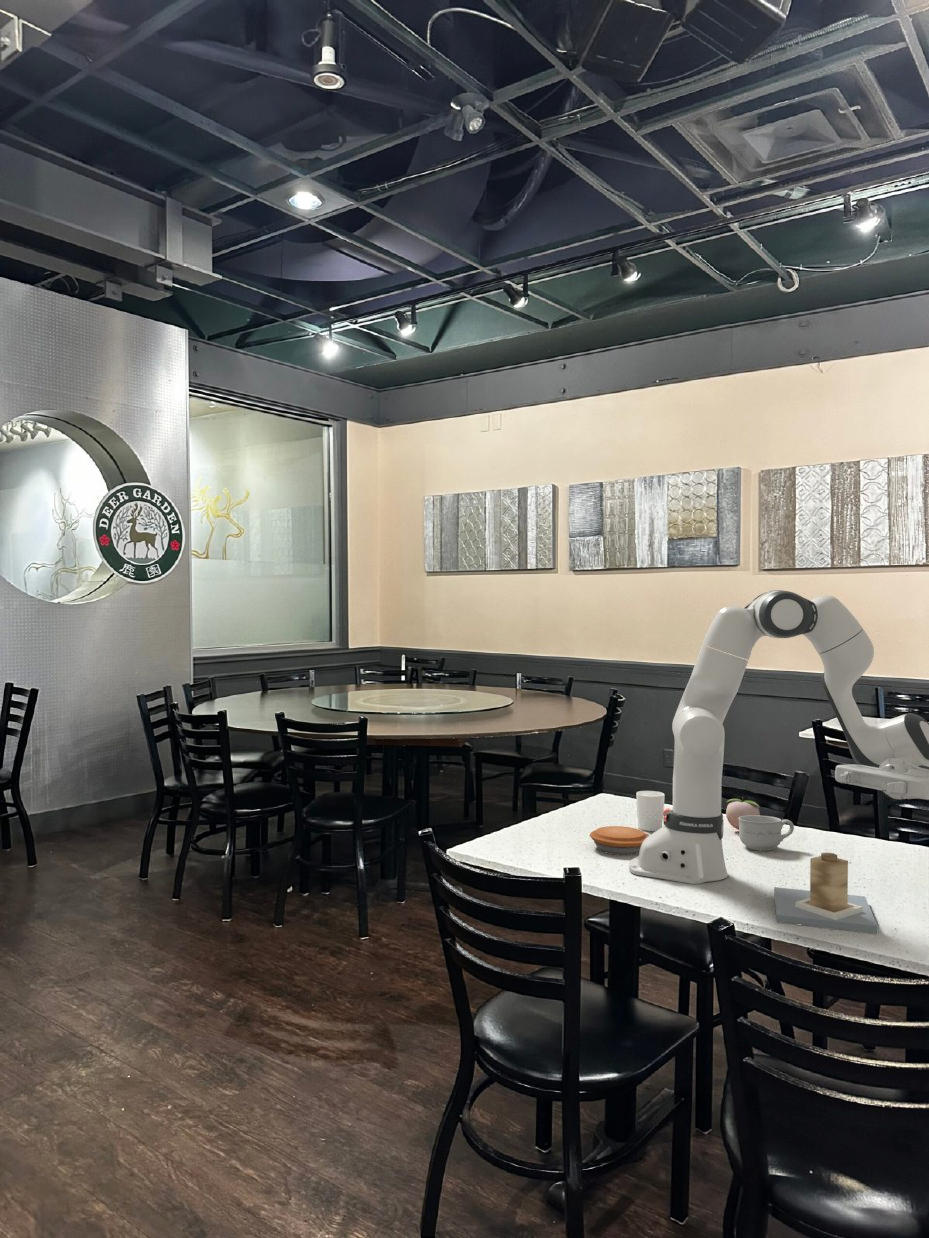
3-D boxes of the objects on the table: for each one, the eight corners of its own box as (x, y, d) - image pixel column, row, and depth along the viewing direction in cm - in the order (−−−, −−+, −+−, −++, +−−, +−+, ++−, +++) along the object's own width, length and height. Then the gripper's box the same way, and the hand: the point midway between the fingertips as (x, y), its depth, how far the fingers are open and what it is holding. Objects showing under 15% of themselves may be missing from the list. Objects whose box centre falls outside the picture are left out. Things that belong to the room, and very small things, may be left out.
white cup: (644, 823, 248) (644, 789, 248) (669, 828, 243) (669, 793, 243) (631, 828, 242) (631, 793, 242) (656, 833, 237) (656, 797, 237)
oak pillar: (809, 907, 172) (810, 853, 172) (824, 903, 174) (825, 849, 174) (832, 915, 167) (833, 859, 168) (847, 910, 170) (848, 855, 170)
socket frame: (795, 906, 172) (795, 901, 172) (821, 899, 177) (821, 894, 177) (835, 920, 165) (835, 914, 165) (862, 911, 170) (862, 906, 170)
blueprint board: (776, 922, 167) (776, 914, 167) (774, 893, 185) (774, 886, 185) (877, 933, 162) (877, 925, 162) (864, 903, 179) (865, 896, 179)
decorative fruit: (723, 833, 238) (723, 797, 238) (727, 827, 245) (727, 792, 245) (758, 837, 234) (758, 801, 234) (761, 830, 241) (761, 795, 241)
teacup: (739, 852, 219) (740, 820, 219) (736, 841, 229) (736, 811, 229) (797, 856, 215) (797, 824, 215) (791, 845, 226) (791, 815, 226)
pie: (577, 848, 221) (577, 829, 221) (612, 838, 231) (612, 820, 231) (627, 861, 210) (627, 841, 210) (661, 849, 220) (662, 830, 220)
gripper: (856, 756, 194) (819, 760, 186) (948, 771, 177) (911, 776, 169) (855, 783, 194) (818, 788, 186) (947, 801, 177) (910, 808, 169)
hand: (863, 783), depth 178 cm, fingers open, 8 cm apart
